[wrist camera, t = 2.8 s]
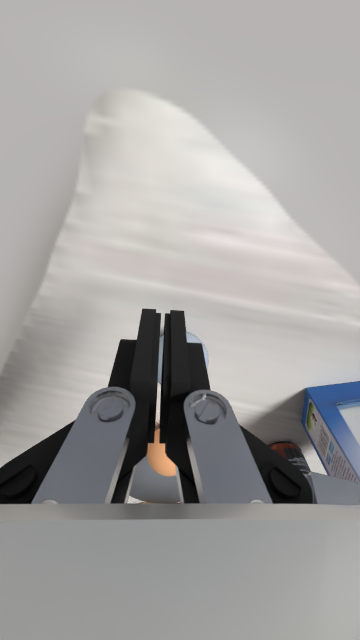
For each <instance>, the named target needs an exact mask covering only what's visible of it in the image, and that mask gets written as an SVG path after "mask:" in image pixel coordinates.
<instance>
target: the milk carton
mask: <svg viewBox="0 0 360 640" xmlns="http://www.w3.org/2000/svg"><path fill="white" fill-rule="evenodd" d="M301 422H302V424H303V426H304V428H305V430H306V432H307V434H308V436H309V438H310V440H311V442H312V444H313V446H314V448H315V450H316V452H317V454H318V456H319V458H320V460H321V462H322V464H323V466H324V468H325V470H326V472H327V474H328V476H332V477H336V478H340V479H344V480H348V481H352V482H356V483H360V381H358V382H350V383H342V384H334V385H326V386H318V387H310V388H306V393H305V400H304V407H303V414H302V421H301Z"/></svg>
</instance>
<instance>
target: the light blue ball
mask: <svg viewBox="0 0 360 640" xmlns="http://www.w3.org/2000/svg"><path fill="white" fill-rule="evenodd" d="M186 337H187V342H191V343H202V346H203V351H204V357H205V362H206V368H208V362H209V360H208V353H207V350H206V347H205V345H204V344H203V342H202V341H201V340H200V339H199V338H198V337H197V336H195V335H194V334H192V333H189V332H186ZM163 339H164V335H163V336H161V337H160V342H159V362H158V382H159V383H160V384H161V373H162V355H163Z"/></svg>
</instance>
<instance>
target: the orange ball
mask: <svg viewBox="0 0 360 640" xmlns="http://www.w3.org/2000/svg"><path fill="white" fill-rule="evenodd" d="M159 434H160V428H159V429H157V430H156V431H155V437H154V443H148V451H147V459H148V462H149V464H150V466H151V467H152V468H153V470H154V471H156V472H157V473H158V474H161V475H163V476H175V475H176V467H175V464H174V463H173V462H172V461H171V460H170V459H169V458H168V457H167V456H166V454H165V444H159Z"/></svg>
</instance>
